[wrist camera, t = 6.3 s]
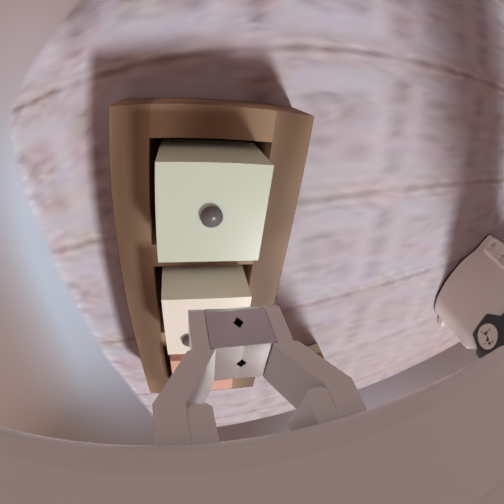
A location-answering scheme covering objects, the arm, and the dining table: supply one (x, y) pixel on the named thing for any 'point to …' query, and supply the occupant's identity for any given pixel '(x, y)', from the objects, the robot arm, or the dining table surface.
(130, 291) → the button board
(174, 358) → the three-pip tile
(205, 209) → the tile
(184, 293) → the tile
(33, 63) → the dining table surface
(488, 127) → the dining table surface
